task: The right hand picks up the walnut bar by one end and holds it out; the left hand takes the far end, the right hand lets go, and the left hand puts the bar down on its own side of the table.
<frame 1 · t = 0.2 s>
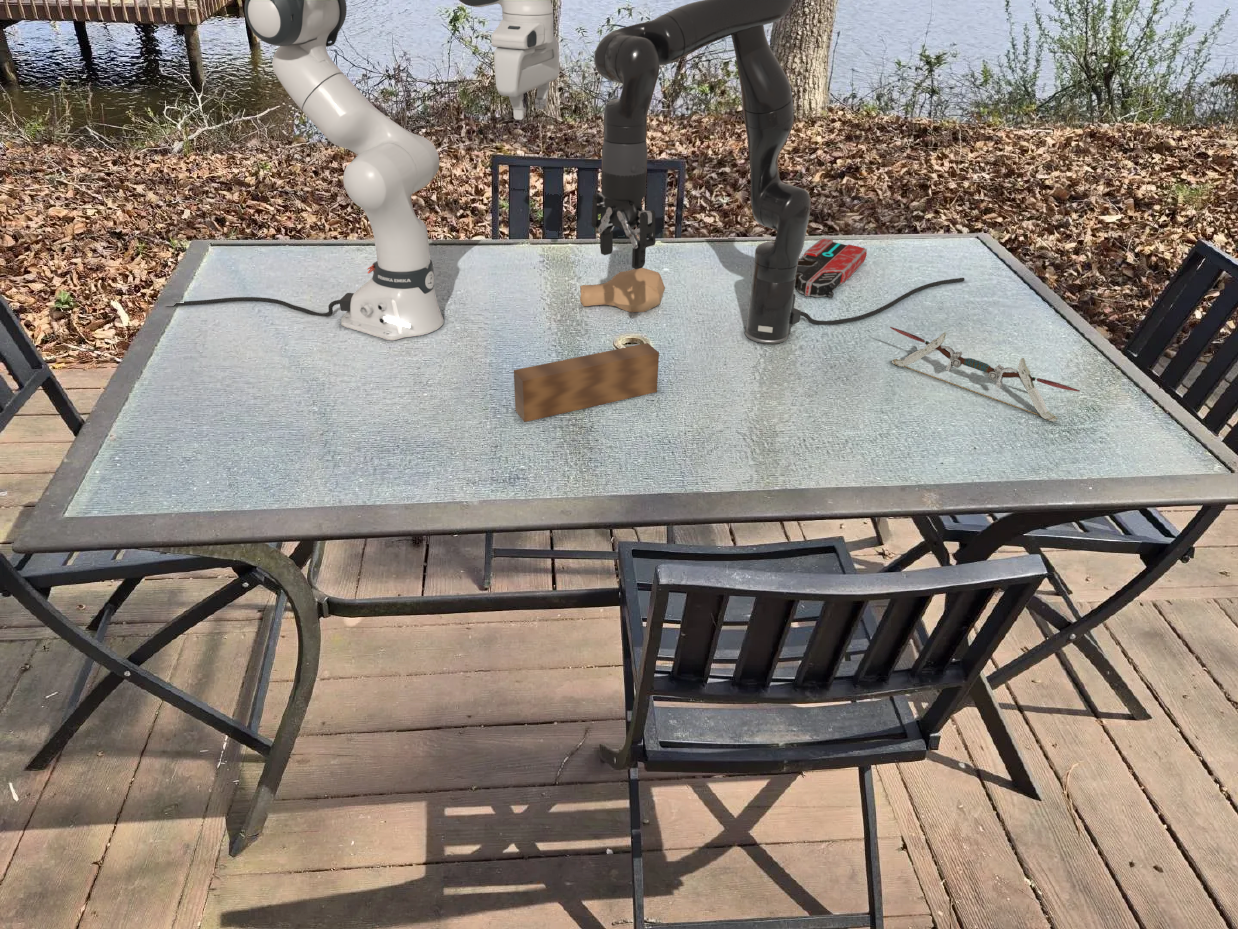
left hand: (530, 113, 161), 47 cm above the table, tool pointing down, fingers open, 8 cm apart
right hand: (621, 260, 155), 28 cm above the table, tool pointing down, fingers open, 8 cm apart
bar: (587, 401, 169), on the table
bow: (969, 391, 176), on the table
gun: (814, 274, 226), on the table
squash: (621, 307, 206), on the table
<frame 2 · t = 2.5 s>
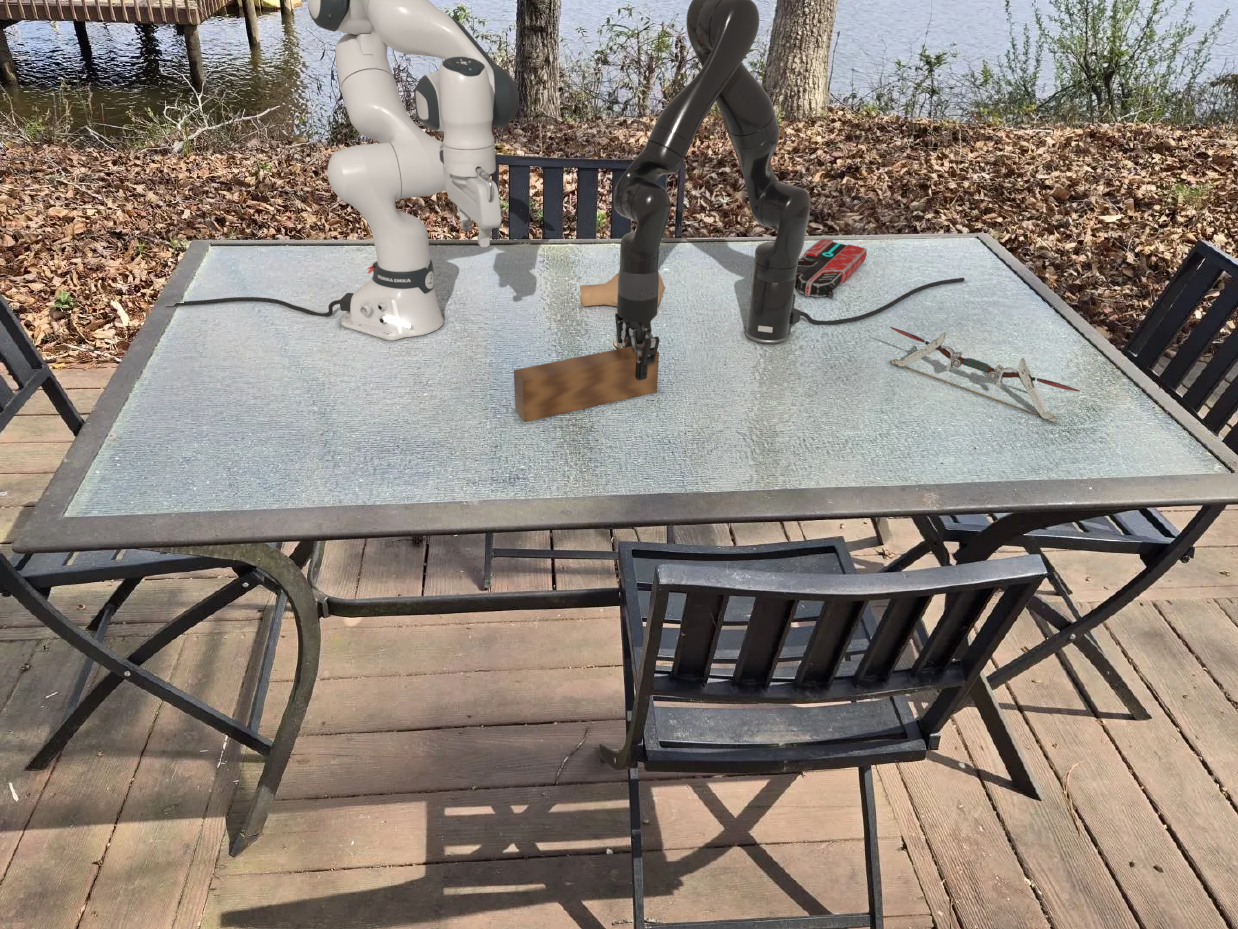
left hand: (475, 237, 161), 28 cm above the table, tool pointing down, fingers open, 8 cm apart
right hand: (634, 372, 170), 4 cm above the table, tool pointing down, fingers closed on bar, 4 cm apart
bar: (587, 401, 169), on the table, touching right hand
everything else where it was.
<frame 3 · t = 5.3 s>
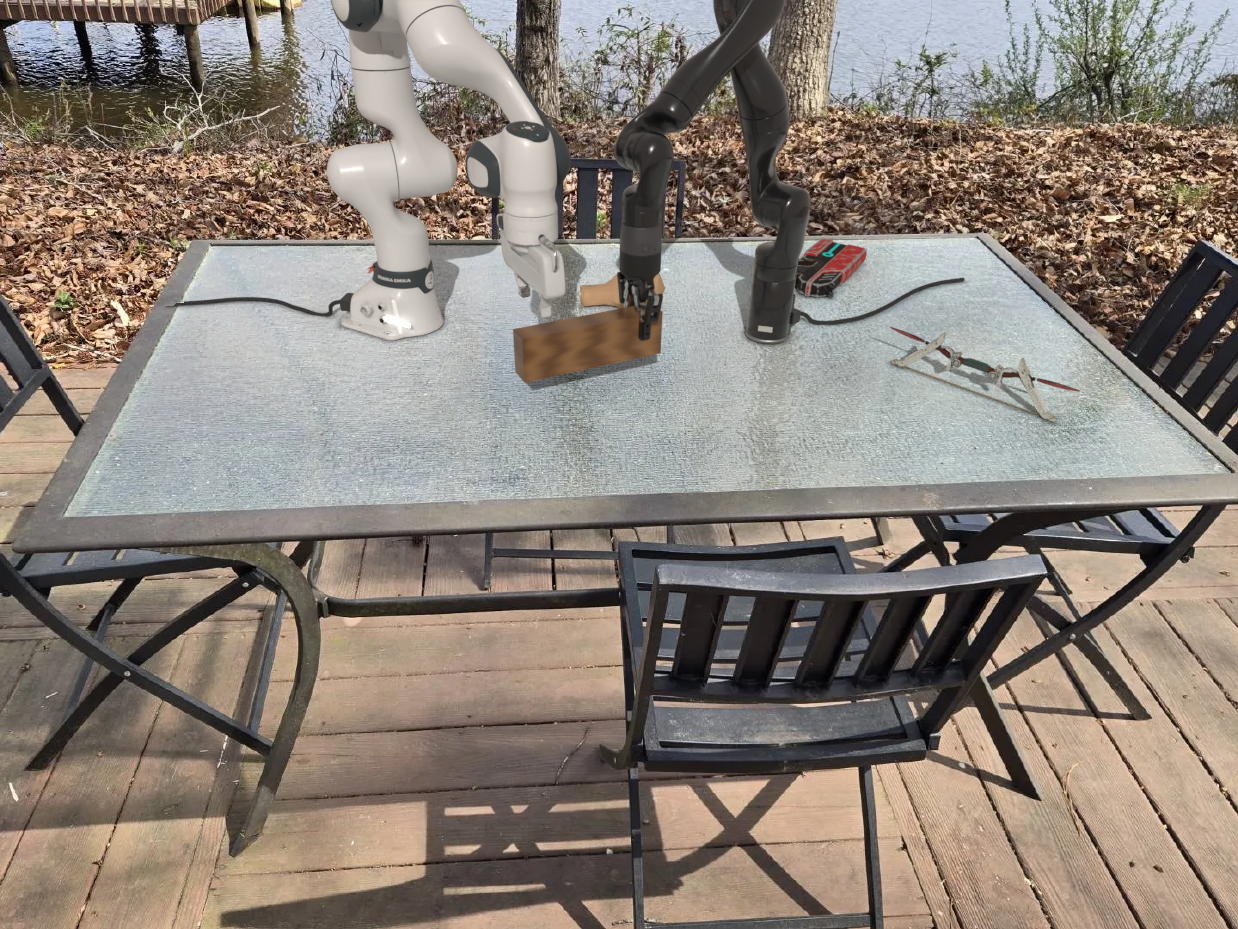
left hand: (534, 305, 153), 21 cm above the table, tool pointing down, fingers open, 8 cm apart
right hand: (637, 333, 166), 12 cm above the table, tool pointing down, fingers closed on bar, 4 cm apart
bar: (589, 362, 164), point 8 cm above the table, touching right hand
everything else where it was.
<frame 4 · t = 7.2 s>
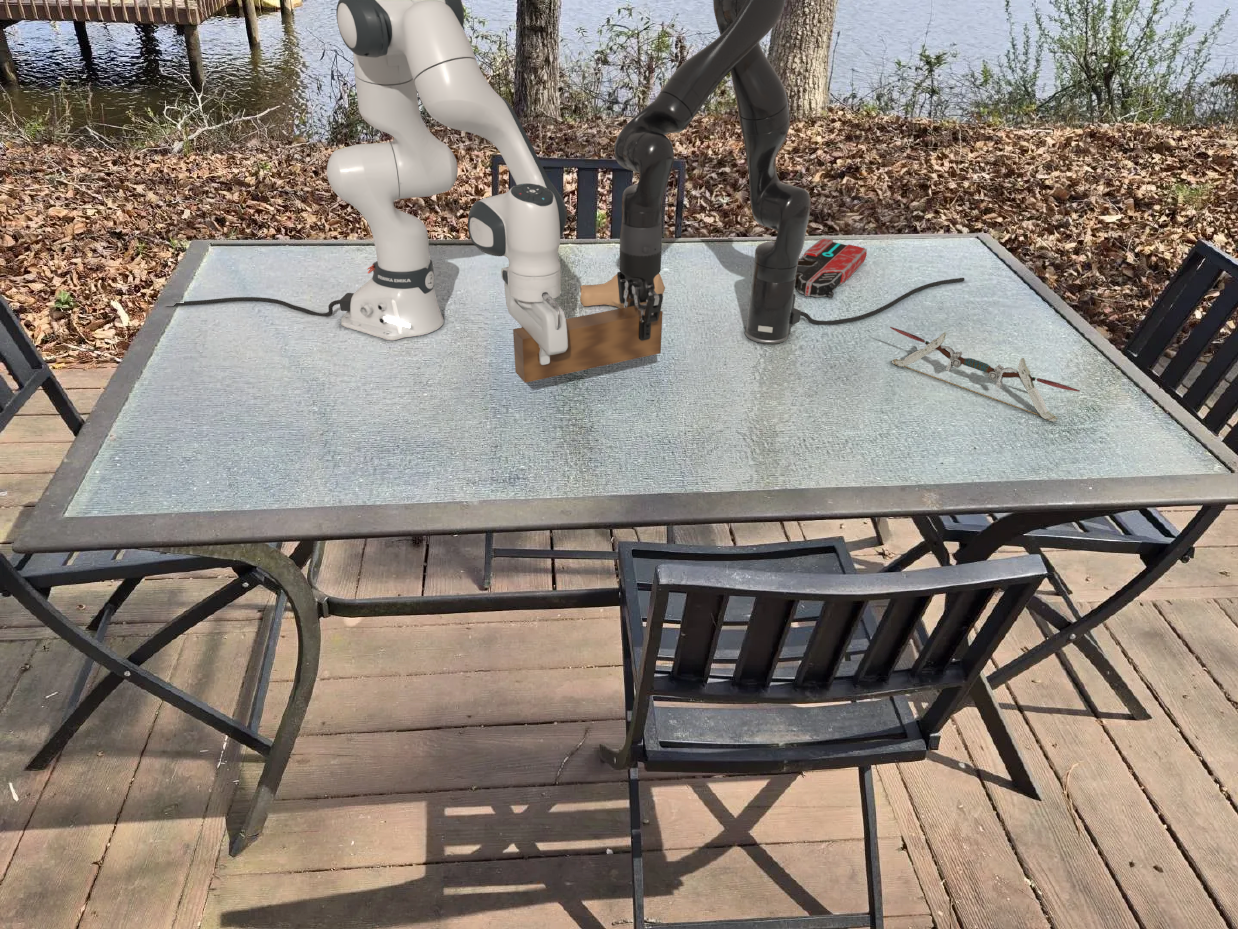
left hand: (537, 355, 158), 12 cm above the table, tool pointing down, fingers closed on bar, 4 cm apart
right hand: (637, 333, 166), 12 cm above the table, tool pointing down, fingers closed on bar, 4 cm apart
bar: (589, 362, 164), point 8 cm above the table, touching left hand, right hand
everything else where it was.
when the right hand's fingers open (12 cm above the table, at t = 8.1 s): bar stays where it is, held by the left hand.
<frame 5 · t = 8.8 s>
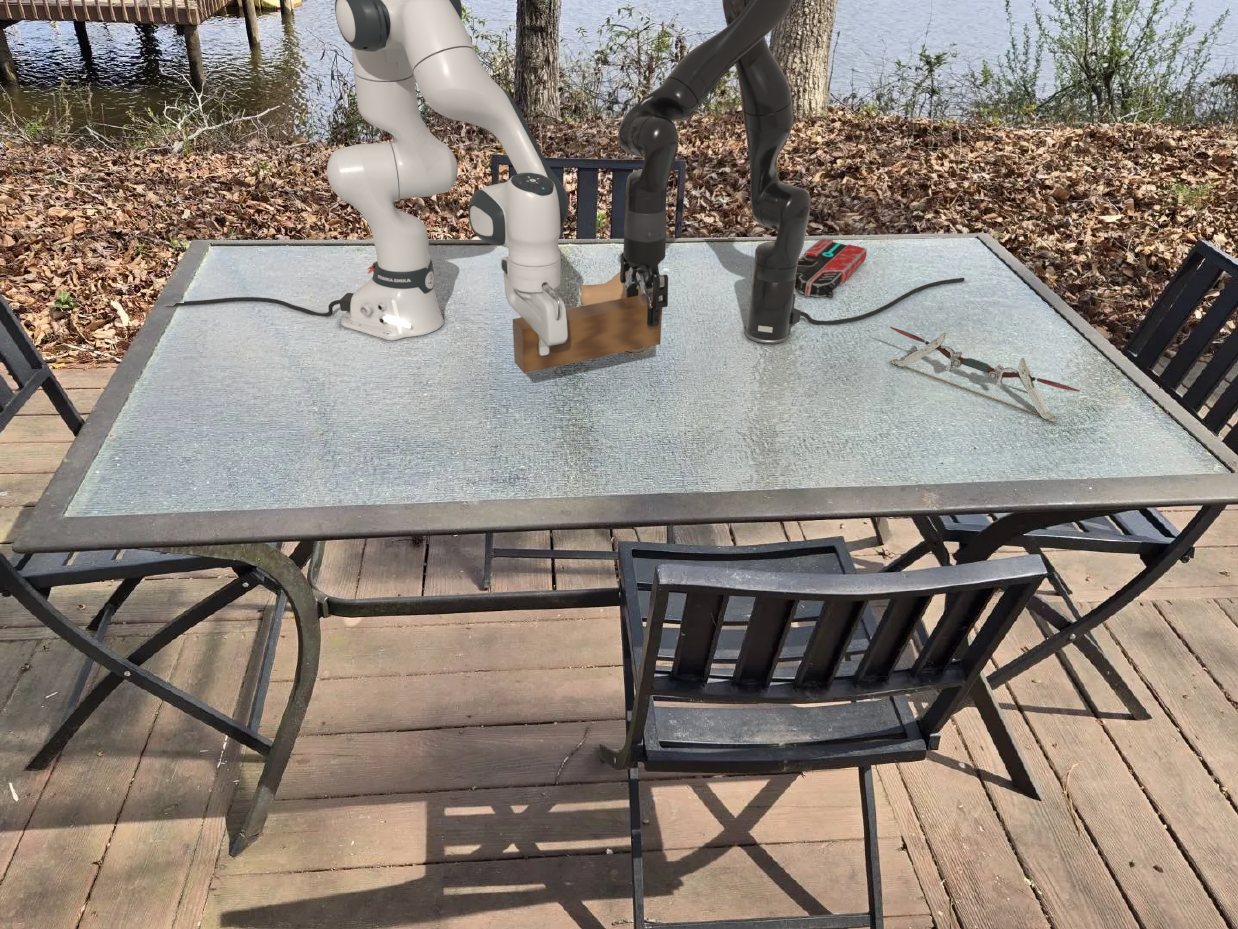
left hand: (536, 346, 157), 14 cm above the table, tool pointing down, fingers closed on bar, 4 cm apart
right hand: (642, 316, 164), 16 cm above the table, tool pointing down, fingers open, 8 cm apart
bar: (589, 353, 163), point 10 cm above the table, touching left hand
everything else where it was.
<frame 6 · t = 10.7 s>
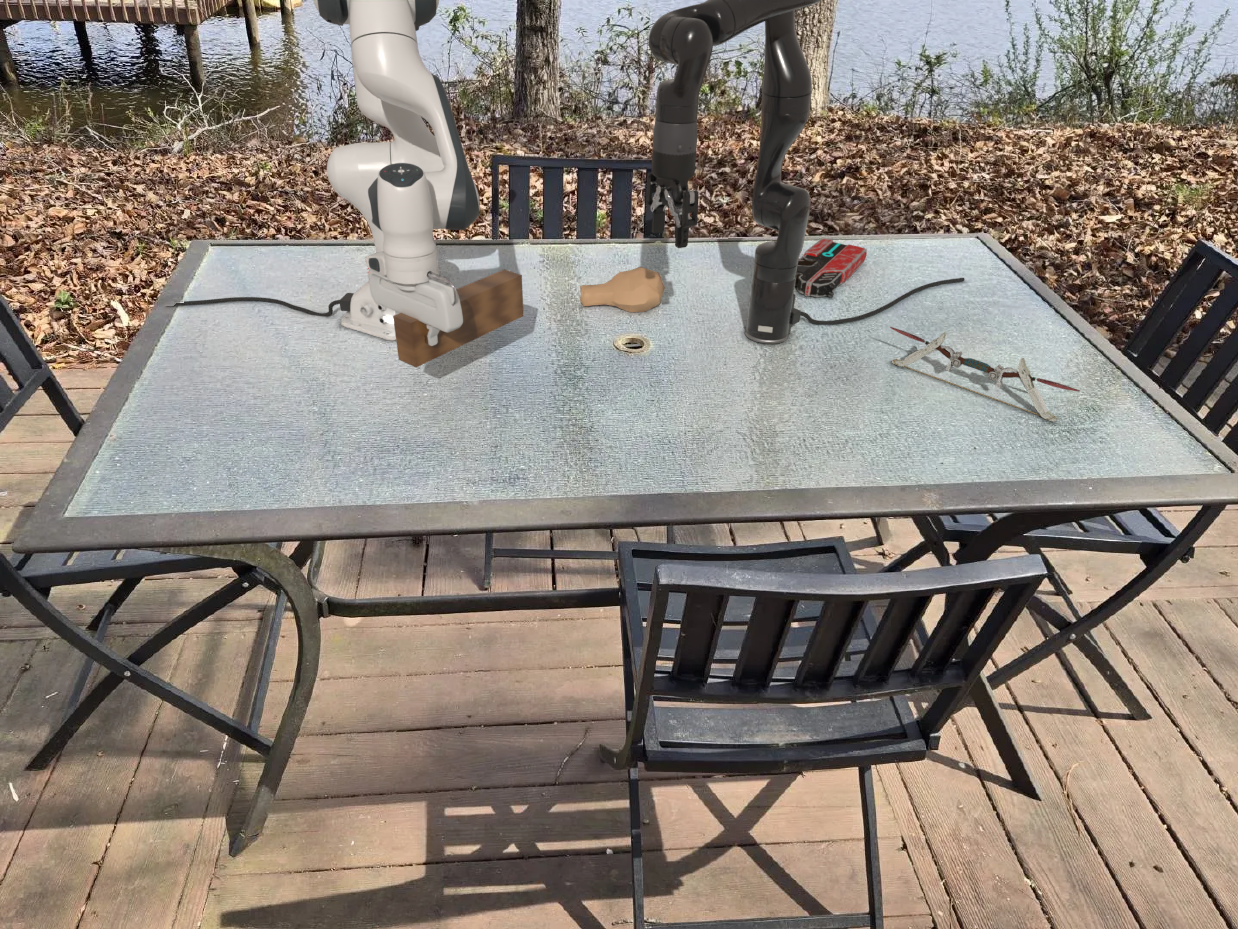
left hand: (419, 338, 157), 14 cm above the table, tool pointing down, fingers closed on bar, 4 cm apart
right hand: (669, 239, 158), 30 cm above the table, tool pointing down, fingers open, 8 cm apart
bar: (464, 336, 166), point 11 cm above the table, touching left hand
everything else where it was.
when the left hand's fingers open (4 cm above the table, at t = 14.3 s): bar stays where it is, on the table.
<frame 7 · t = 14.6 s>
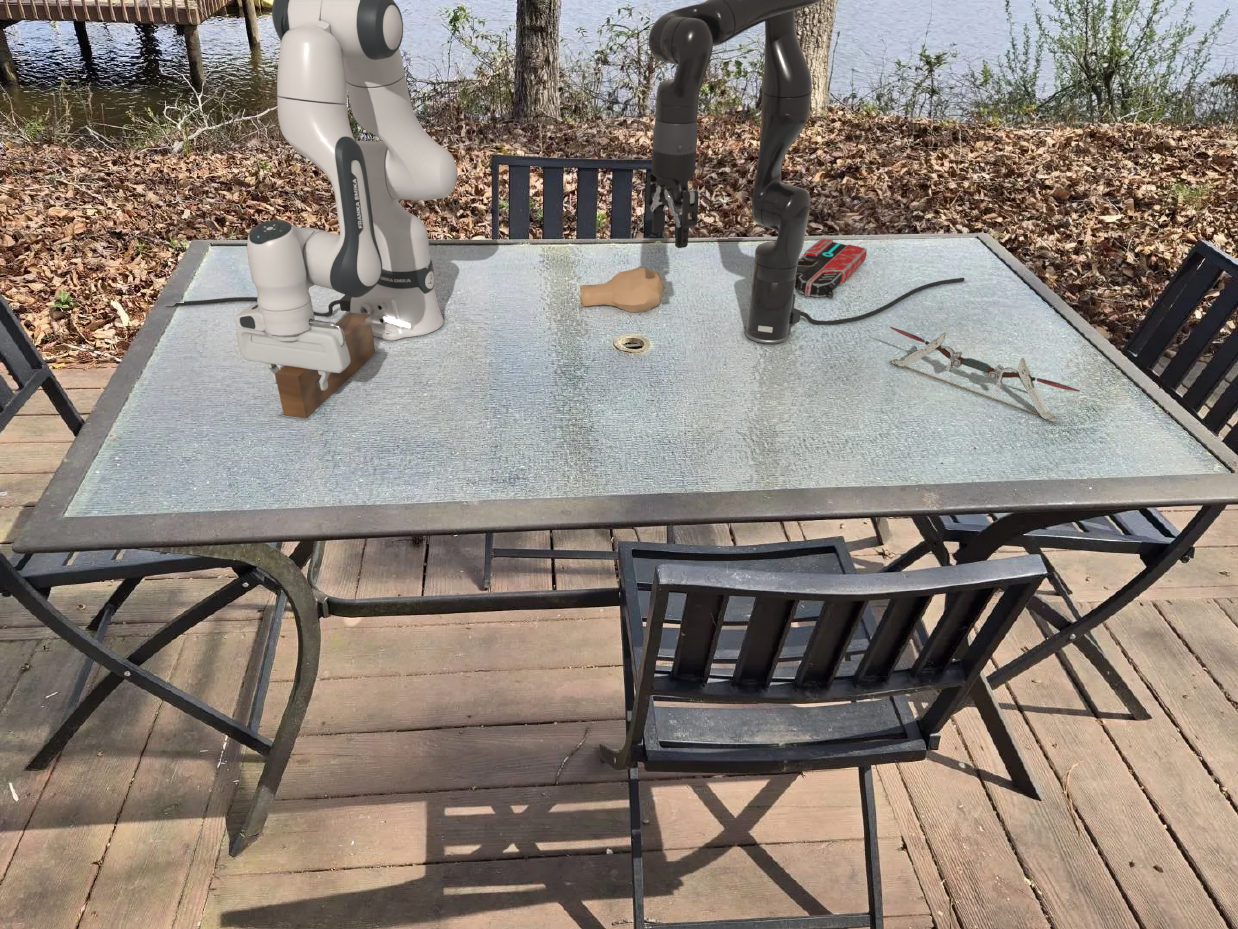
left hand: (301, 385, 162), 4 cm above the table, tool pointing down, fingers open, 7 cm apart
right hand: (669, 239, 158), 30 cm above the table, tool pointing down, fingers open, 8 cm apart
bar: (332, 381, 172), on the table
everything else where it was.
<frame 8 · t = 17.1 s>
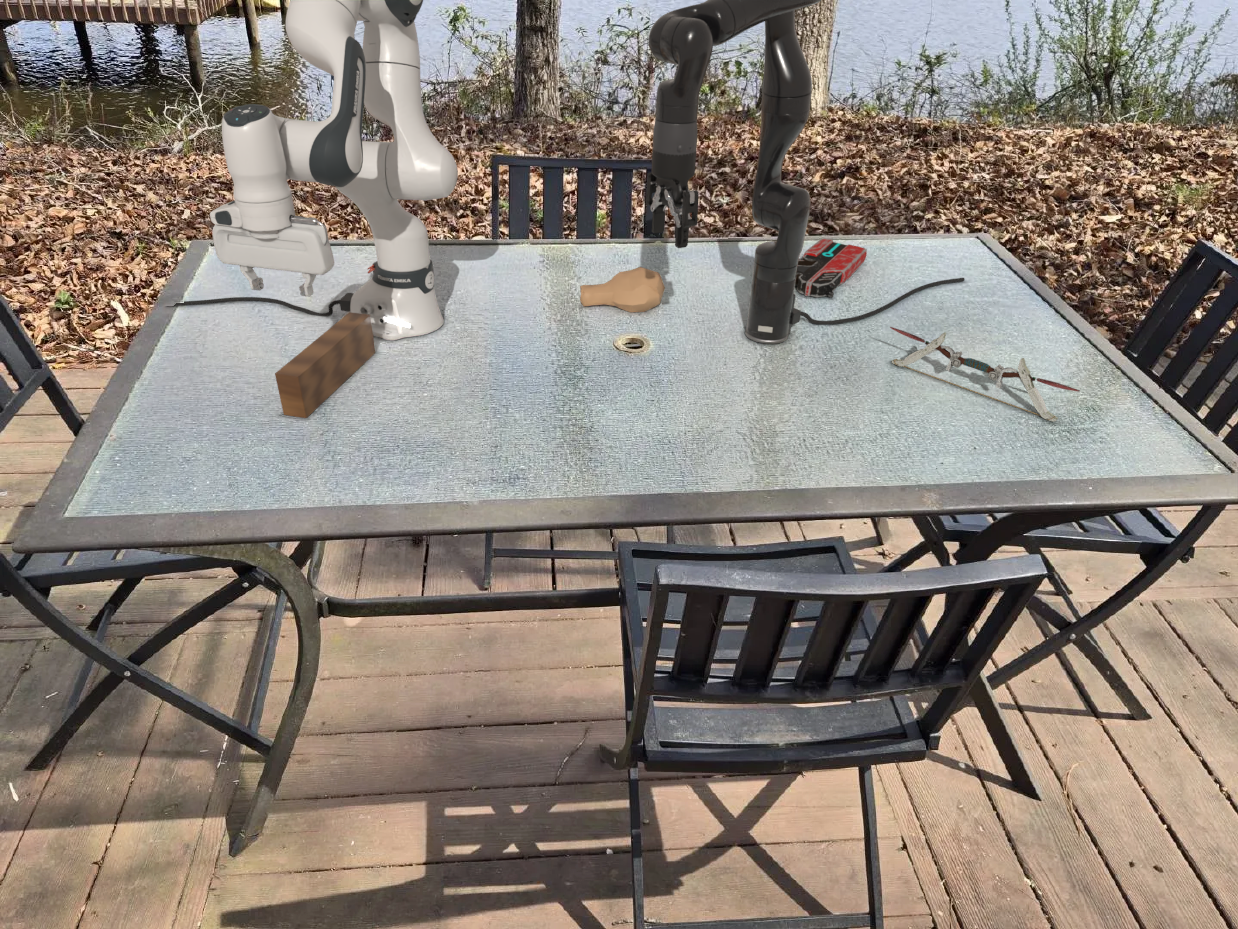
left hand: (282, 292, 151), 23 cm above the table, tool pointing down, fingers open, 8 cm apart
right hand: (669, 239, 158), 30 cm above the table, tool pointing down, fingers open, 8 cm apart
nothing on the table moved.
at the end: bar inside the target area (10.3 cm from its centre), on the table; the left hand is holding nothing; the right hand is holding nothing; bar at rest at the end (0.0 cm/s) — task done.
